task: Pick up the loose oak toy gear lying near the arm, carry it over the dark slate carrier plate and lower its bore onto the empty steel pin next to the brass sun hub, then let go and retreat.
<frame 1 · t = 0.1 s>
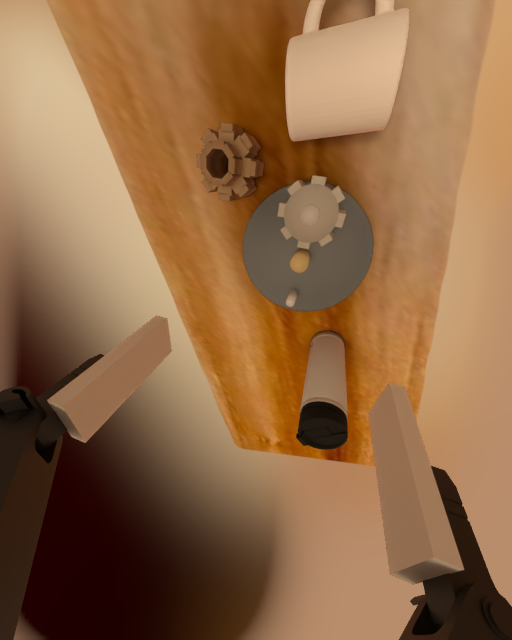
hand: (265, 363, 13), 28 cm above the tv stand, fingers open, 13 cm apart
travel mug: (326, 343, 45), on the tv stand
carrier: (303, 253, 37), on the tv stand
oak gear: (236, 165, 33), on the tv stand
mug: (341, 73, 25), on the tv stand
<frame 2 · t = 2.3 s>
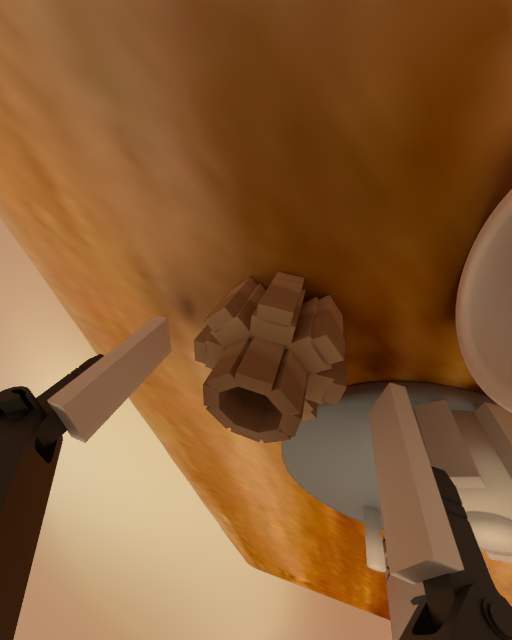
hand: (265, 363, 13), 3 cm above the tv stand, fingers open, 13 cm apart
travel mug: (409, 547, 27), on the tv stand
carrier: (399, 465, 19), on the tv stand
oak gear: (279, 330, 15), on the tv stand
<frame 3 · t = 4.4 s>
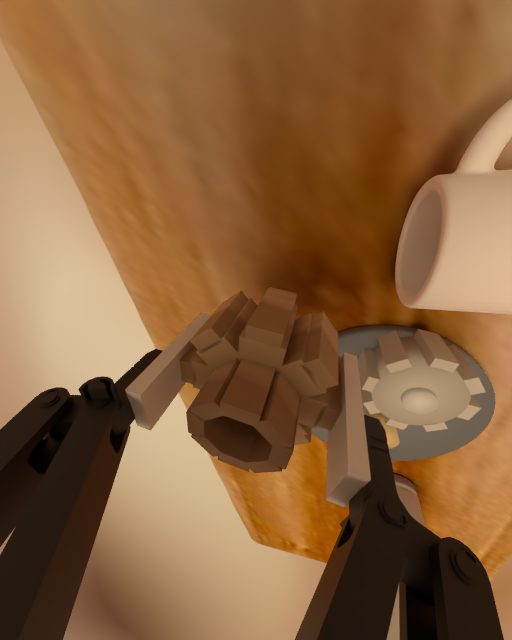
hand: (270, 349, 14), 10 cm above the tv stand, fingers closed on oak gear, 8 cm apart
travel mug: (389, 482, 34), on the tv stand
carrier: (375, 396, 27), on the tv stand
oak gear: (271, 347, 15), point 10 cm above the tv stand, touching gripper
mug: (486, 204, 16), on the tv stand
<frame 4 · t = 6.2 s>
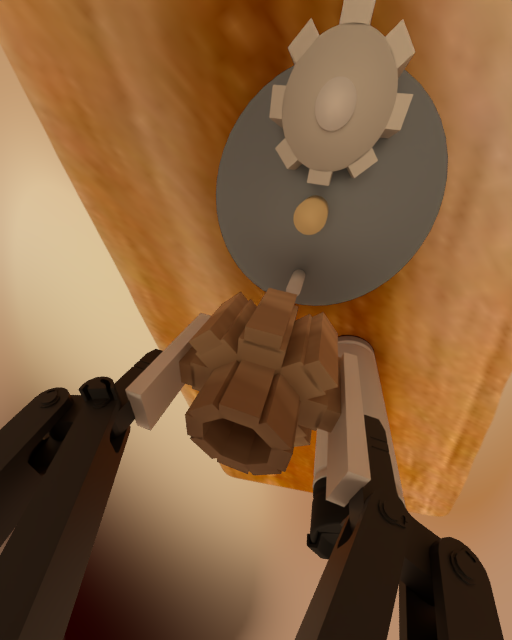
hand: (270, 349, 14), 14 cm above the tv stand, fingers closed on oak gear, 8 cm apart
travel mug: (346, 353, 30), on the tv stand
carrier: (315, 209, 22), on the tv stand
oak gear: (271, 348, 15), point 14 cm above the tv stand, touching gripper
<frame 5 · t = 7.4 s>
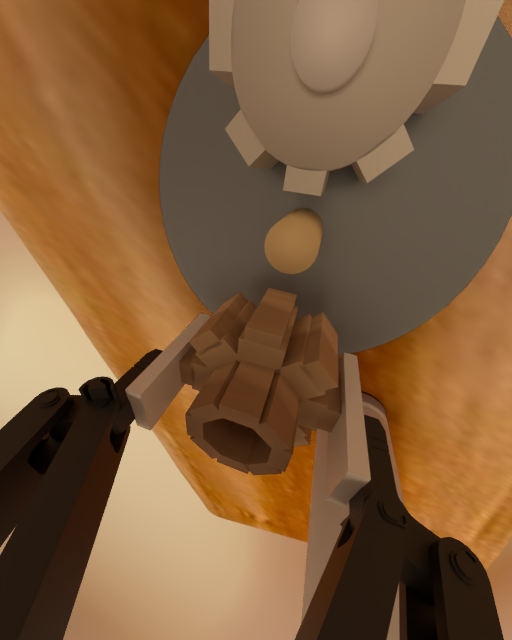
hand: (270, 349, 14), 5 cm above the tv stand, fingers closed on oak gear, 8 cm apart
travel mug: (348, 409, 23), on the tv stand
carrier: (304, 226, 15), on the tv stand
oak gear: (271, 348, 15), point 5 cm above the tv stand, touching gripper
when the fingers open (2 cm above the tv stand, at t = 8.4 s): oak gear stays where it is, resting on carrier.
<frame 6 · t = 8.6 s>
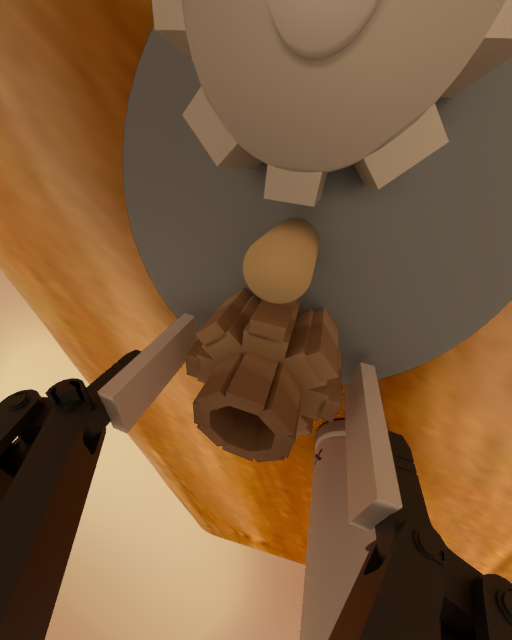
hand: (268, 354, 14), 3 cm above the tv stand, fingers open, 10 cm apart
travel mug: (349, 438, 21), on the tv stand
carrier: (297, 238, 13), on the tv stand
oak gear: (273, 342, 15), point 1 cm above the tv stand, touching carrier
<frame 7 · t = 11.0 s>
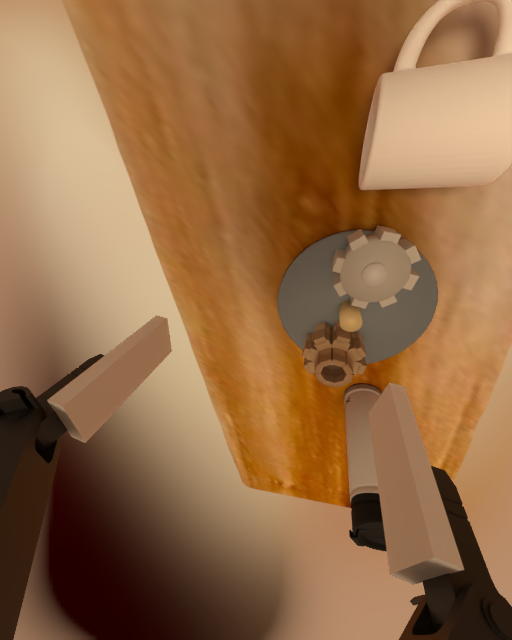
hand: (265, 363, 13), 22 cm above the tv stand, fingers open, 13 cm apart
travel mug: (361, 395, 40), on the tv stand
carrier: (348, 303, 32), on the tv stand
oak gear: (333, 344, 35), point 1 cm above the tv stand, touching carrier
mug: (423, 114, 21), on the tv stand
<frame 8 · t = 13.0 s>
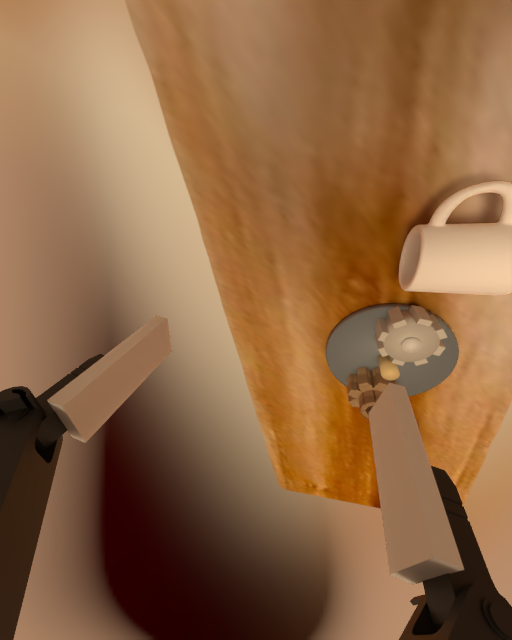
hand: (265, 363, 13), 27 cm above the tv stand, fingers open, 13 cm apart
carrier: (384, 352, 40), on the tv stand
oak gear: (371, 382, 43), point 1 cm above the tv stand, touching carrier
mug: (448, 234, 29), on the tv stand
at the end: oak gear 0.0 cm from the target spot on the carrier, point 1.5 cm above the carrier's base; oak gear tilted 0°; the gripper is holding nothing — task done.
